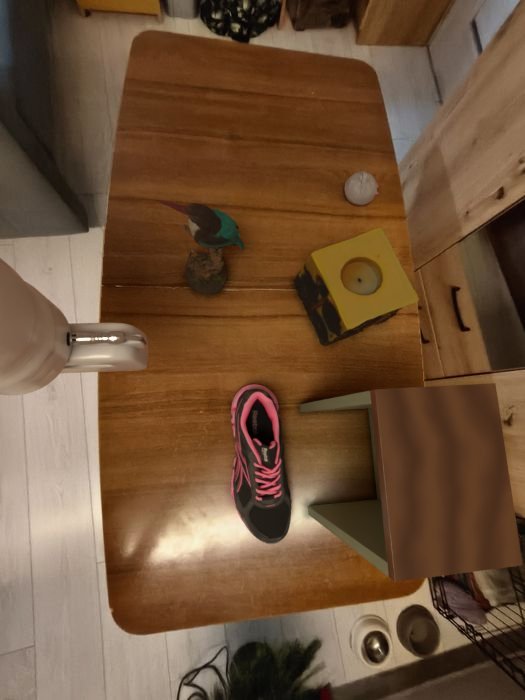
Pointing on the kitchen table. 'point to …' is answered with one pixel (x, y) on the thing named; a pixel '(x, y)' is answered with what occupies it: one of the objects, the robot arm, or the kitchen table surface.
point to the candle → (353, 286)
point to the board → (443, 481)
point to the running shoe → (260, 465)
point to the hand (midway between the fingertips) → (61, 363)
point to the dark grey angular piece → (360, 516)
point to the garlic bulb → (360, 188)
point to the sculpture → (207, 245)
